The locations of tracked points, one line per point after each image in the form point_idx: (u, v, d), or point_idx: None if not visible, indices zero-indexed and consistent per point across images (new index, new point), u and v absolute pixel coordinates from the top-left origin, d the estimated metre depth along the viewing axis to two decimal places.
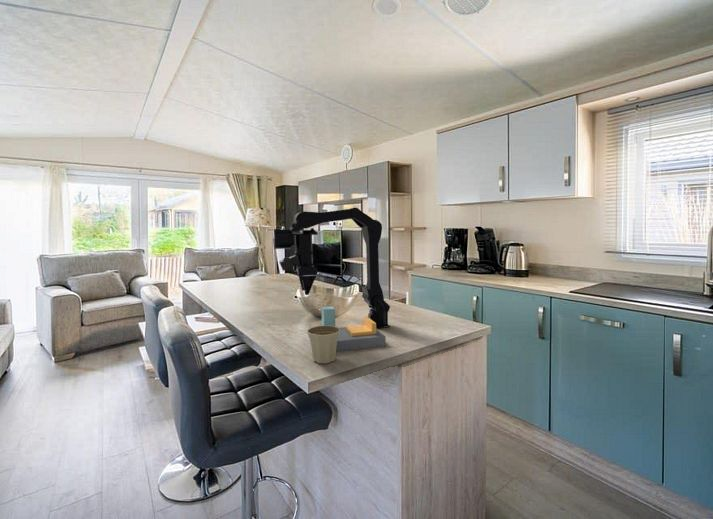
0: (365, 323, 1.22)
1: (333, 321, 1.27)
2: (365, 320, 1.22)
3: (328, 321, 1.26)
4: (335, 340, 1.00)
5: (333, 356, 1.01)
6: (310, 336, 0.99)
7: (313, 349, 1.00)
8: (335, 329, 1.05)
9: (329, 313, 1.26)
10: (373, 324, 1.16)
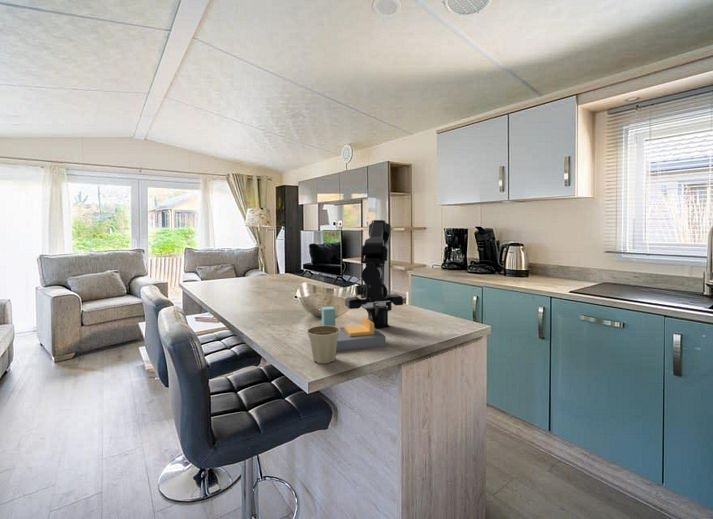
0: (363, 323, 1.22)
1: (333, 321, 1.27)
2: (363, 320, 1.21)
3: (328, 321, 1.26)
4: (335, 340, 1.00)
5: (333, 356, 1.01)
6: (310, 336, 0.99)
7: (313, 349, 1.00)
8: (335, 329, 1.05)
9: (329, 313, 1.26)
10: (371, 324, 1.16)
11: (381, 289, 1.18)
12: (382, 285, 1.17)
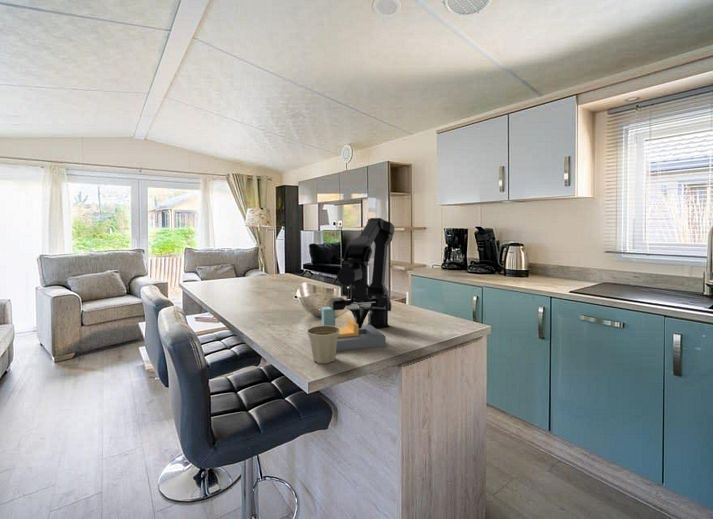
0: (348, 325, 1.20)
1: (333, 321, 1.27)
2: (348, 321, 1.20)
3: (328, 321, 1.26)
4: (335, 340, 1.00)
5: (333, 356, 1.01)
6: (310, 336, 0.99)
7: (313, 349, 1.00)
8: (335, 329, 1.05)
9: (329, 313, 1.26)
10: (355, 326, 1.14)
11: (366, 290, 1.16)
12: (367, 286, 1.15)
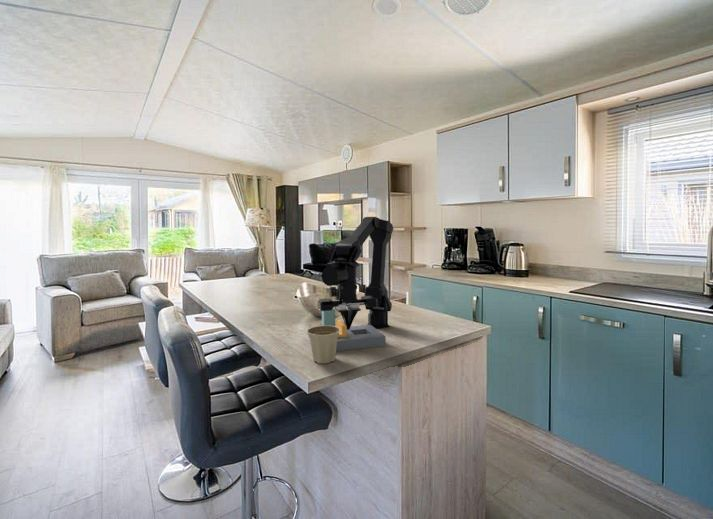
0: (336, 326, 1.19)
1: (333, 321, 1.27)
2: (337, 322, 1.19)
3: (328, 321, 1.26)
4: (335, 340, 1.00)
5: (333, 356, 1.01)
6: (310, 336, 0.99)
7: (313, 349, 1.00)
8: (335, 329, 1.05)
9: (329, 313, 1.26)
10: (343, 327, 1.13)
11: (354, 291, 1.15)
12: (355, 287, 1.14)
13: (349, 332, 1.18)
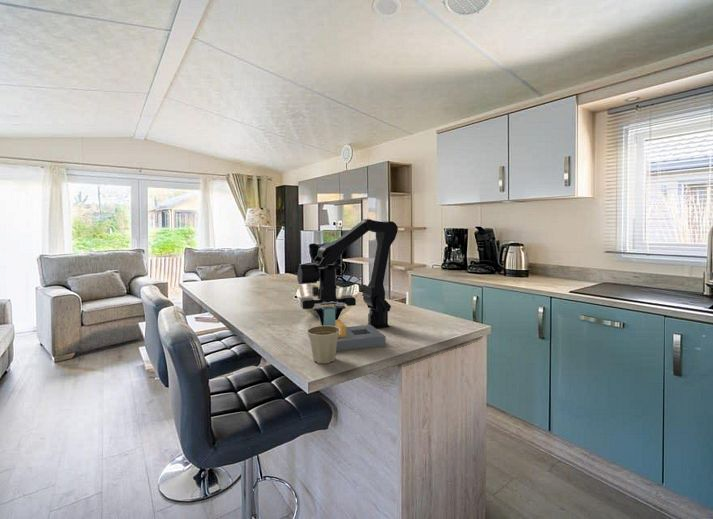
0: (336, 326, 1.19)
1: (333, 321, 1.27)
2: (336, 323, 1.19)
3: (328, 321, 1.26)
4: (335, 340, 1.00)
5: (333, 356, 1.01)
6: (310, 336, 0.99)
7: (313, 349, 1.00)
8: (335, 329, 1.05)
9: (329, 313, 1.26)
10: (342, 327, 1.13)
11: (334, 290, 1.25)
12: (334, 287, 1.25)
13: (349, 332, 1.18)
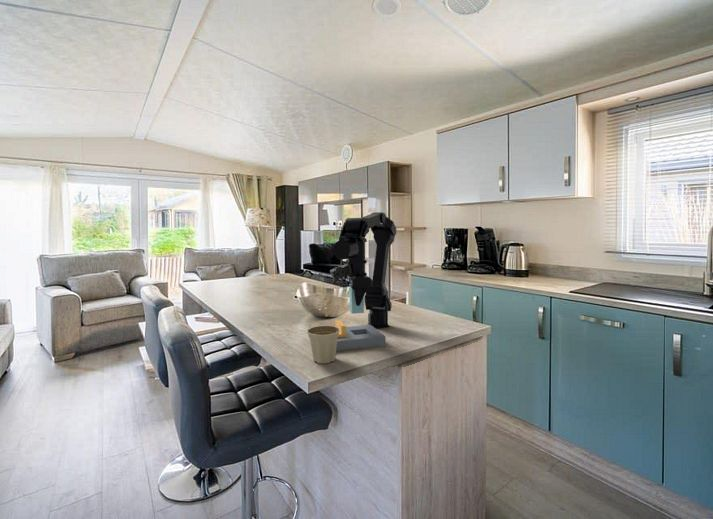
0: (336, 326, 1.19)
1: None
2: (336, 323, 1.19)
3: None
4: (335, 340, 1.00)
5: (333, 356, 1.01)
6: (310, 336, 0.99)
7: (313, 349, 1.00)
8: (335, 329, 1.05)
9: None
10: (342, 327, 1.13)
11: None
12: None
13: (349, 332, 1.18)
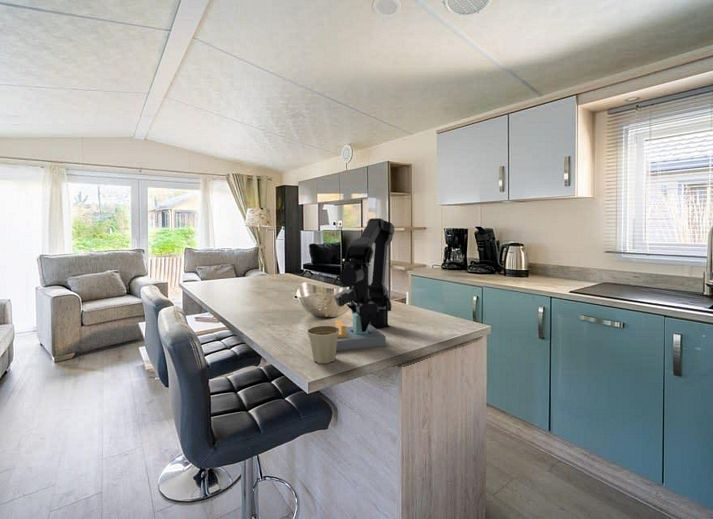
0: (336, 326, 1.19)
1: None
2: (336, 323, 1.19)
3: None
4: (335, 340, 1.00)
5: (333, 356, 1.01)
6: (310, 336, 0.99)
7: (313, 349, 1.00)
8: (335, 329, 1.05)
9: None
10: (342, 327, 1.13)
11: None
12: None
13: (349, 332, 1.18)
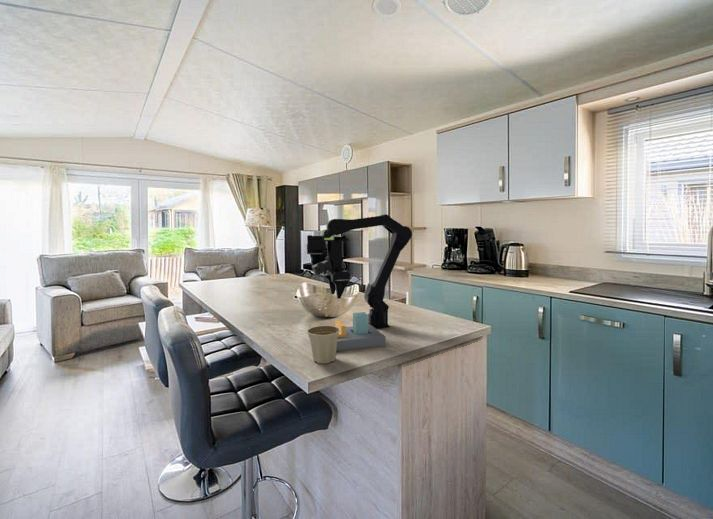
0: (336, 326, 1.19)
1: None
2: (336, 323, 1.19)
3: None
4: (335, 340, 1.00)
5: (333, 356, 1.01)
6: (310, 336, 0.99)
7: (313, 349, 1.00)
8: (335, 329, 1.05)
9: None
10: (342, 327, 1.13)
11: None
12: None
13: (349, 332, 1.18)
